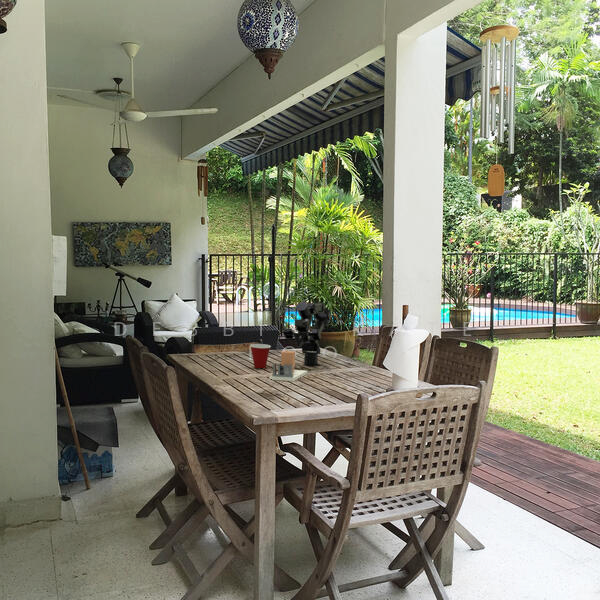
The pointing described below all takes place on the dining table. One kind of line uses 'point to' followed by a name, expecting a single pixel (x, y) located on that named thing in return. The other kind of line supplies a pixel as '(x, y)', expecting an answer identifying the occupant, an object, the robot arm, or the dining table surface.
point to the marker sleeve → (288, 359)
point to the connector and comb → (286, 369)
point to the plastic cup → (260, 354)
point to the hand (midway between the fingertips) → (298, 347)
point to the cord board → (296, 375)
